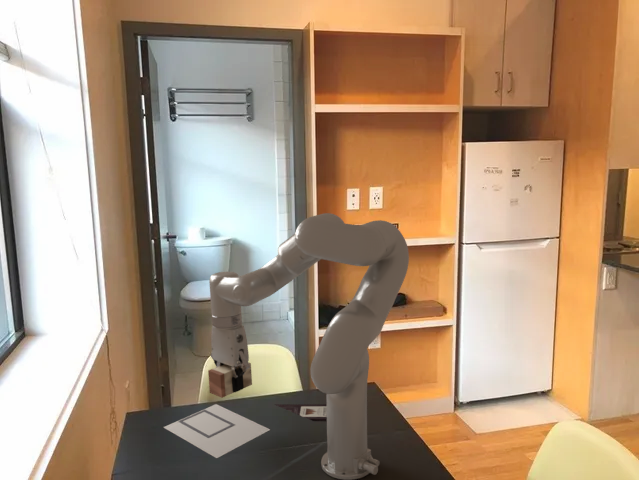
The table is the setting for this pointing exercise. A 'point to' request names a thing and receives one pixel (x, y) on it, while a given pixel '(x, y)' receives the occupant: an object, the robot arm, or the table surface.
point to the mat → (216, 430)
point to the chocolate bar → (307, 410)
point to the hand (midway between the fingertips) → (231, 386)
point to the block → (226, 380)
